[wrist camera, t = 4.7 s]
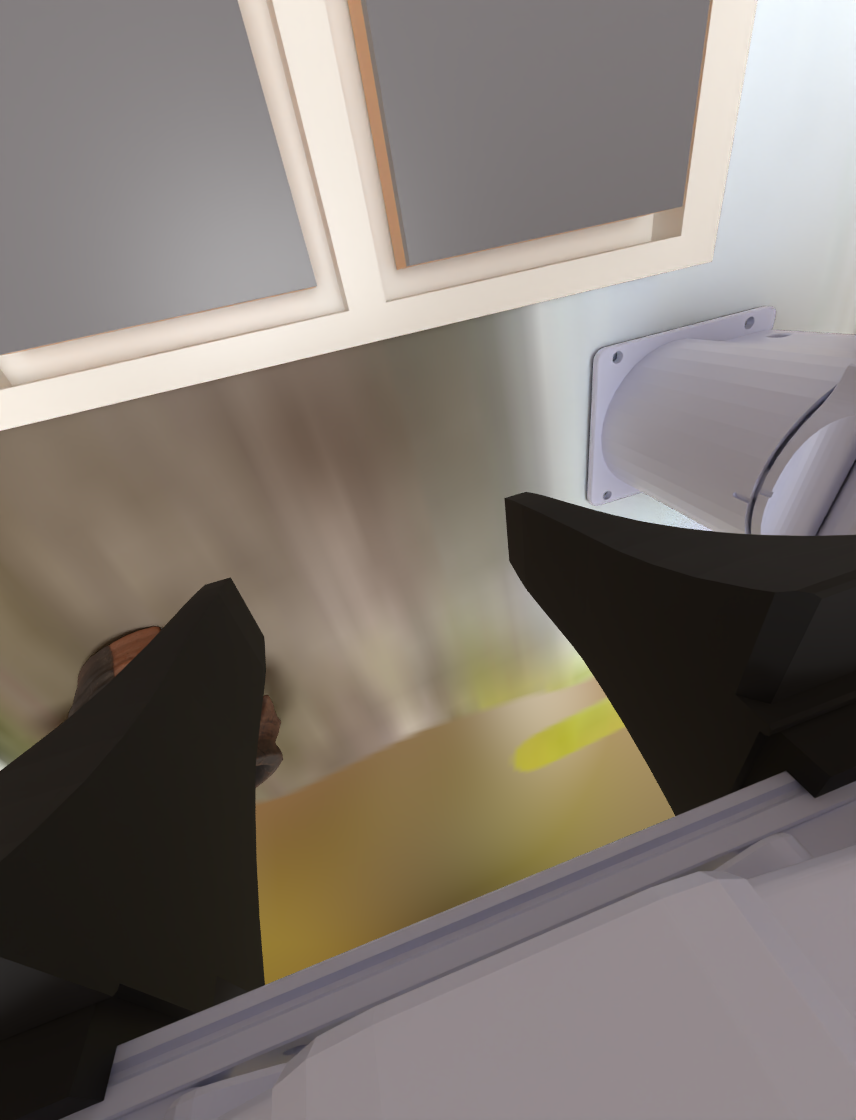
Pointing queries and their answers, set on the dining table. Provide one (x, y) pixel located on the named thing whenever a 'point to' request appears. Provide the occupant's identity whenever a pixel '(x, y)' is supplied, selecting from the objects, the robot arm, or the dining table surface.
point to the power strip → (377, 233)
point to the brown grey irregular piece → (127, 648)
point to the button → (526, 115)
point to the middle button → (135, 169)
